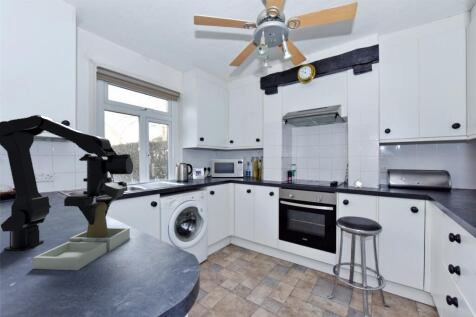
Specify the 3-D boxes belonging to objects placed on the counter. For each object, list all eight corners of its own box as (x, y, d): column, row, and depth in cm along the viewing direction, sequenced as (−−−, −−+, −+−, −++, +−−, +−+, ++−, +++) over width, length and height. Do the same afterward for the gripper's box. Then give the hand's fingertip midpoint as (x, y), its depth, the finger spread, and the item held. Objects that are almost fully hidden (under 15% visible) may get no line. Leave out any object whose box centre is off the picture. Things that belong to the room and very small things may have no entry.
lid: (32, 268, 51) (32, 257, 51) (68, 250, 61) (68, 241, 61) (77, 270, 50) (77, 258, 50) (106, 251, 60) (106, 242, 60)
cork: (97, 240, 63) (97, 205, 63) (81, 238, 64) (81, 204, 64) (112, 233, 69) (112, 201, 69) (97, 232, 70) (97, 200, 70)
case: (66, 250, 61) (66, 238, 61) (94, 237, 72) (94, 226, 72) (108, 251, 60) (108, 239, 60) (129, 237, 71) (129, 227, 71)
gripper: (99, 177, 57) (99, 233, 57) (137, 173, 75) (137, 214, 75) (62, 177, 58) (62, 232, 57) (108, 172, 76) (108, 214, 76)
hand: (97, 222), depth 67 cm, fingers closed on cork, 4 cm apart
